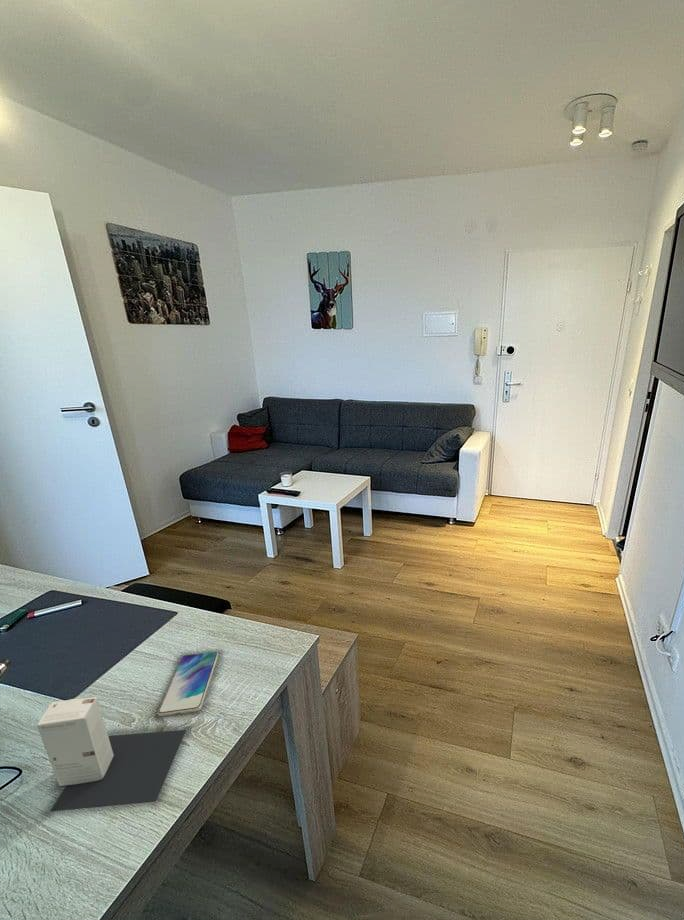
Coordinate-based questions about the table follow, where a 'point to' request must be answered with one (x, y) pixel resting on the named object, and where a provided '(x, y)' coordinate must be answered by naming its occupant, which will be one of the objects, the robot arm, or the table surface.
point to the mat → (127, 772)
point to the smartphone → (189, 684)
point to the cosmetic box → (76, 740)
